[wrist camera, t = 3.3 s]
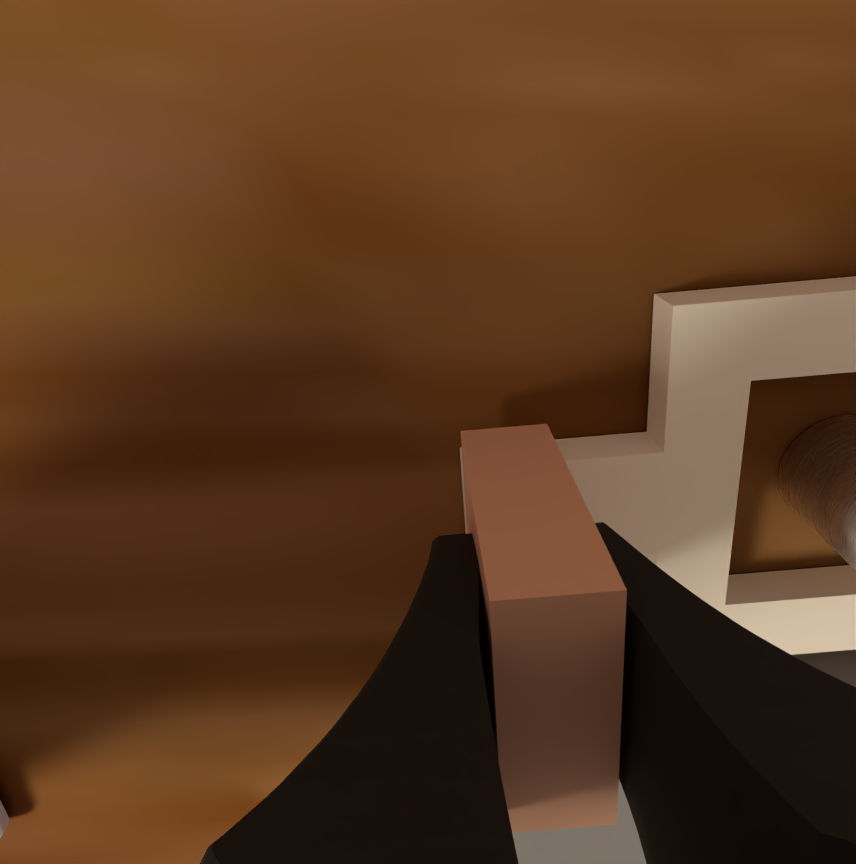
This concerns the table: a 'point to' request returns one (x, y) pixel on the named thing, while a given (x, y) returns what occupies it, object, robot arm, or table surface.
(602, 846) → the tray
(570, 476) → the square frame with handle
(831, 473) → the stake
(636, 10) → the table surface
